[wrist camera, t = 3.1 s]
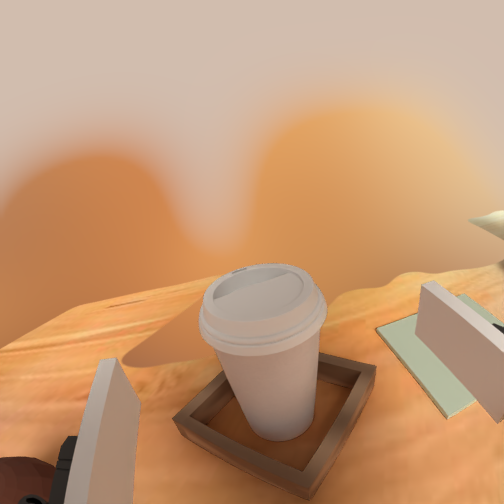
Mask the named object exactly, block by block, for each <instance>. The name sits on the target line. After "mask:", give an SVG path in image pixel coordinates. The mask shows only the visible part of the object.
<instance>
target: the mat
mask: <svg viewBox="0 0 504 504" xmlns="http://www.w3.org/2000/svg"><path fill="white" fill-rule="evenodd" d="M457 298H458V299H460V300H461V301H462V302H464V303H465V304H466V305H467V306H469V307H470V308H471V309H473V310H474V311H475V312H477V313H478V314H479V315H480V316H482V317H483V318H484V319H485V320H487V321H488V322H489V323H490V324H493V323H495V324H497V325H500V326H502V327H504V324H503V323H502V322H501V321H500V320H498V319H497V318H496V317H495V316H493V315H492V314H491V313H489V312H488V311H487V310H485V309H484V308H483V307H482V306H480V305H479V304H478V303H476V302H475V301H474V300H472V299H471V298H470V297H468V296H467V295H465V294H462V295H460V296H457ZM417 315H418V313H416V314H414V315H411V316H409V317H406V318H404V319H401V320H398V321H395V322H393V323H390V324H387V325H385V326H382V327H379V328H377V330H376V332H377V333H378V334H379V336H380V337H381V338H382V339H383V340H384V342H385V343H386V344H387V345H388V346H389V348H390V349H391V350H392V351H393V353H394V354H395V355H396V356H397V357H398V359H399V360H400V361H401V362H402V364H403V365H404V366H405V367H406V368H407V370H408V371H409V372H410V373H411V375H412V376H413V377H414V378H415V380H416V381H417V382H418V383H419V385H420V386H421V387H422V388H423V390H424V391H425V392H426V393H427V395H428V396H429V397H430V398H431V400H432V401H433V402H434V404H435V405H436V406H437V407H438V409H439V410H440V411H441V413H442V414H443V415H444V416H445V418H446V419H448V418H450V417H452V416H454V415H455V414H457V413H458V412H460V411H462V410H463V409H465V408H466V407H468V406H470V405H471V404H473V403H474V402H476V401H477V400H476V399H475V398H474V396H473V395H472V394H471V393H470V392H469V391H468V390H467V389H466V388H465V386H464V385H463V384H462V383H461V382H460V381H459V380H458V379H457V378H456V377H455V376H454V374H453V373H452V372H451V371H450V370H449V369H448V368H447V367H446V366H445V365H444V364H443V363H442V362H441V361H440V360H439V358H438V357H437V356H436V355H435V354H434V353H433V352H432V351H431V350H430V349H429V348H428V347H427V346H426V345H425V344H424V343H423V342H422V341H421V340H420V339H419V338H418V337H417V336H416V335H415V328H416V322H417Z"/></svg>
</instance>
